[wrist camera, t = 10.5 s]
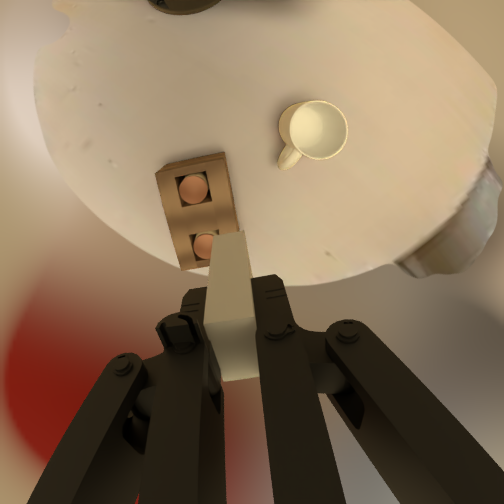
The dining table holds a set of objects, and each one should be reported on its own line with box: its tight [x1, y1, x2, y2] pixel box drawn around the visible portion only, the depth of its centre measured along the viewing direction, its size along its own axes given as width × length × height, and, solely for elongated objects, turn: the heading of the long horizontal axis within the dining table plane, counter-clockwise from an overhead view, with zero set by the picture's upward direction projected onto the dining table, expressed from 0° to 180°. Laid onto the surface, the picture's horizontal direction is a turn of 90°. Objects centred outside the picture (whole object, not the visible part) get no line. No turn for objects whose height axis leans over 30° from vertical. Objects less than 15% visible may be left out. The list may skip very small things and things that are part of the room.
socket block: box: [155, 152, 239, 271], centre depth 47 cm, size 16×10×8 cm, turn 9°
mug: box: [277, 100, 348, 170], centre depth 42 cm, size 12×8×10 cm
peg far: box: [193, 229, 220, 259], centre depth 48 cm, size 4×4×8 cm
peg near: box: [179, 171, 209, 204], centre depth 44 cm, size 4×4×8 cm
